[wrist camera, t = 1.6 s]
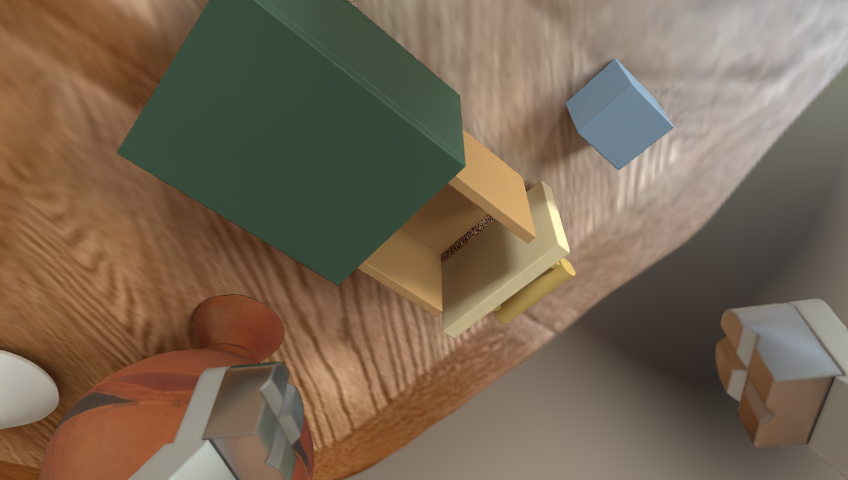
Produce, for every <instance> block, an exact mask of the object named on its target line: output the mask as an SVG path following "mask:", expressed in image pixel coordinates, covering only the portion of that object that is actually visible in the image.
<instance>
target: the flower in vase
mask: <svg viewBox="0 0 848 480" xmlns="http://www.w3.org/2000/svg"><path fill="white" fill-rule="evenodd" d="M58 403H59V394H58V388H57V386H56V384H55V382H54V381H53V379H52V378H51V377H50V376H49V375H48V374H47V373H46V372H45V371H44V370H43V369H42V368H40V367H39V366H37V365H36V364H34V363H32V362H31V361H29V360H27V359H25V358H23V357H21V356H18V355H16V354H13V353H10V352H7V351H3V350H0V429H3V428H10V427H16V426H21V425H26V424H29V423H32V422H36V421H39V420H41V419H43V418H45V417H46V416H48V415H49V414H50V413H51V412H53V411H54V410H55V409H56V407H57V406H58Z"/></svg>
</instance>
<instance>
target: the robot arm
mask: <svg viewBox="0 0 848 480" xmlns="http://www.w3.org/2000/svg"><path fill="white" fill-rule="evenodd" d="M721 326H722V328H723V330H724V332H725V335H724V336H723V337H722V338H721V339H720V340H719V341H718V342H717V347H716V364H717V370H718V373H719V376H720V380H721V382H722V384H723V386H724V388H725V390H726V393H727V394H729V395H730V396H732V397H733V398H735V399H736V400H738V401H739V402H740V406H739V410H738V414H737V415H738V417H739V419H740V421H741V423H742V425H743V427H744V429H745V431H746V433H747V435H748V436H749V439H750V441H751V442H752V444H753V446H754V448H761V447H775V446H776V447H777V446H792V445H808V446H807V448H809V449H810V450H811V451H813V452H814V453H815V454H816V455H817V456H819V457H820V458H821V459H822V460H824V461H825V462H826V463H827V464H829V465H830V466H831V467H832V468H834V469H835V470H836V471H837V472H839V473H840V474H841V475H842V476H844V477H845V478H846V479H847V480H848V330H847V329H846V327H845V326H844V325H843V324H842V322H841V321H840V320H839V319H838V317H837V316H836V315H835V314H834V312H833V311H832V310H831V309H830V307H829V306H828V305H827V303H826V302H824V301H822V300H821V299H811V300H802V301H794V302H787V303H784V302H783V303H775V304H767V305H760V306H751V307H743V308H735V309H728V310H726V311H725V313H724V314H723V317H722V321H721ZM289 374H290V372H289V371H288V369H287V367H286V365H285V363H284V362H269V363H258V364H247V365H235V366H228V367H217V368H207V369H206V370H205V371H204V372H203V373H202V374H201V375H200V377H199V379H198V382H197V384H196V387H195V389H194V392H193V394H192V397H191V399H190V402H189V404H188V407H187V409H186V412H185V414H184V417H183V419H182V422H181V424H180V427H179V429H178V432H177V434H176V437H175V439H174V442H173V443H168V444H165V445H164V446H163V447H162V448H161V449H160V450H159V451H158V452H157V453H155V454H154V455H153V456H152V457H151V458H150V459H149V460H148V461H147V462H146V463H145V464H144V465H143V466H142V467H141V468H140V469H139V470H138V471H137V472H135V473H134V474H133V475H132V476H131V477H130V478H129V479H128V480H292V478H293V473H294V468H295V463H296V459H297V455H296V454H295V452H294V450H293V448H292V445H293V444H294V443H295V442H296V441H297V439H298V438H299V437H300V436H301V433H302V428H303V422H304V412H303V403H302V398H301V395H300V393H299V391H298V389H297V387H295V386H293V385H292V384H290V383H288V379H289Z"/></svg>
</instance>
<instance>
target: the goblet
mask: <svg viewBox="0 0 848 480" xmlns="http://www.w3.org/2000/svg"><path fill="white" fill-rule="evenodd" d="M193 323H194V331H195V335H196V338H197V341H198V343H199V344H200V346H201V348H202V349H185V350H177V351H171V352H166V353H162V354H158V355H155V356H152V357H149V358H146V359H143V360H141V361H138V362H136V363H134V364H132V365H130V366H127V367H125V368H123V369H121V370H119V371H116V372H115V373H113V374H111V375H109V376H107V377H105V378H104V379H102V380H101V381H100V382H98V383H97V384H96V385H95V386H93V387H92V388H91V389H90V390H88V391H87V392H86V393H85V394H84V395H83V396H82V397H80V398H79V399H78V400H77V401H76V402H75V403H74V405H73V406H72V407H71V408H70V409H69V410H68V411H67V413H66V414H65V416H64V417H63V418H62V419H61V421H60V422H59V424H58V425H57V427H56V429H55V431H54V433H53V435H52V437H51V439H50V441H49V443H48V446H47V448H46V451H45V455H44V459H43V463H42V467H41V471H40V474H39V479H38V480H128V479H129V478H130V477H131V476H132V475H133V474H134V473H135V472H137V471H138V470H139V469H140V468H141V467H142V466H143V465H144V464H145V463H146V462H147V461H148V460H149V459H150V458H151V457H152V456H153V455H154V454H155V453H157V452H158V451H159V450H160V449H161V448H162V447H163V446H164V445H165V444H168V443H173V442H174V439H175V437H176V434H177V432H178V429H179V427H180V424H181V422H182V419H183V417H184V414H185V412H186V409H187V407H188V404H189V402H190V399H191V397H192V394H193V392H194V389H195V387H196V384H197V382H198V379H199V377H200V375H201V374H202V373H203V372H204V371H205V370H206V369H207V368H217V367H228V366H235V365H247V364H258V363H260V362H261V361H263V360H264V359H266V358H267V357H269V356H270V355H271V354H273V353H274V352H275V351H276V350H277V349H278V348H279V347H280V345H281V343H282V340H283V337H284V327H283V325H282V322H281V321H280V319H279V318H278V316H277V315H276V314H275V313H274V312H273V311H272V310H271V309H269V308H268V307H267V306H265V305H264V304H263V303H261V302H259V301H256V300H254V299H251V298H248V297H245V296H241V295H237V294H236V295H225V296H216V297H212V298H210V299H207V300H206V301H205V302H204V303H202V305H201V306H200V307H199V309H198V310H197V311H196V313H195V316H194V319H193ZM292 448H293V450H294V452H295V454H296V455H297V459H296V463H295V468H294V473H293V478H292V480H312V477H313V468H314V448H313V441H312V436H311V432H310V429H309V426H308V423H307V420H306V418H305V416H304V422H303V428H302V433H301V436H300V437H299V438H298V439H297V441H296V442H295V443H294V444H293V445H292Z"/></svg>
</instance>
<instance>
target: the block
mask: <svg viewBox="0 0 848 480" xmlns="http://www.w3.org/2000/svg"><path fill="white" fill-rule="evenodd" d="M566 106H567V109H568V111H569V113H570V116H571V118H572V121H573V123H574V125H575V128H576V130H577V133H578V134H579V135H580V136H582V137H583V138H584V139H585V140H586V141H587V142H588V143H589V144H590V145H591V146H592V147H594V148H595V149H596V150H597V151H598V152H599V153H600V154H601V155H602V156H603V157H604V158H606V159H607V160H608V161H609V162H610V163H611V164H612V165H613V166H614V167H615V168H616V169H618V170H620V169H621V168H623V167H624V166H625V165H626V164H628V163H629V162H630V161H632V160H633V159H634V158H635V157H637V156H638V155H639V154H640V153H642V152H643V151H644V150H646V149H647V148H648V147H649V146H651V145H652V144H653V143H654V142H656V141H657V140H658V139H659V138H661V137H662V136H663V135H665V134H666V133H667V132H668V131H670V130H671V129H672V128H673V127H674V126H673V125H672V123H671V122H670V120H669V119H668V118H667V116H666V115H665V113H664V112H663V110H662V109H661V108H660V106H659V105H658V103H657V102H656V101H655V99H654V98H653V97H652V96H651V95H650V94H649V93H648V91H647V90H646V89H645V88H644V87H643V86H642V85H641V84H640V83H639V82H638V81H637V80H636V79H635V78H634V77H633V76H632V75H631V74H630V73H629V72H628V71H627V70H626V69H625V68H624V66H623V65H622V64H621V63H620V62H619V61H618V60H617V59H614V60H613V61H612V62H611V63H610V64H608V65H607V66H606V67H605V68H604V69H603V70H602V71H601V72H600V73H599V74H597V75H596V76H595V77H594V78H593V79H592V80H591V81H590V82H589V83H587V84H586V85H585V86H584V87H583V88H582V89H581V90H580V91H579V92H578V93H576V94H575V95H574V96H573V97H572V98H571V99H570V100H569V101H568V102H566Z"/></svg>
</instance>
